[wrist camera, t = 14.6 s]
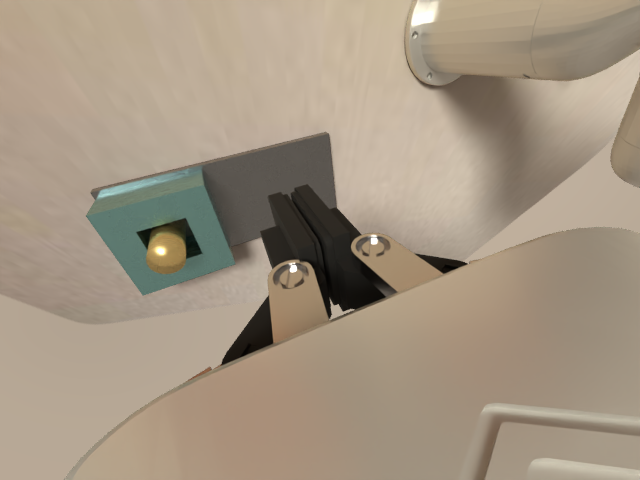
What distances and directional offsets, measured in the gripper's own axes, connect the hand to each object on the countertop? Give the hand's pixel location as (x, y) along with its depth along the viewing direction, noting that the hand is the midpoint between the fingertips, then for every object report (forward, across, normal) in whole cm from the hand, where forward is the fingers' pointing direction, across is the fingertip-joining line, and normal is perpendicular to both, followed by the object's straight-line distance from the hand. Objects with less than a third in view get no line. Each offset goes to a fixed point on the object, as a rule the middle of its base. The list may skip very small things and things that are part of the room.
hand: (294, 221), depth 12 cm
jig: (+26, +3, +10) cm, 28 cm away
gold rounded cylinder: (+25, +11, +10) cm, 29 cm away
